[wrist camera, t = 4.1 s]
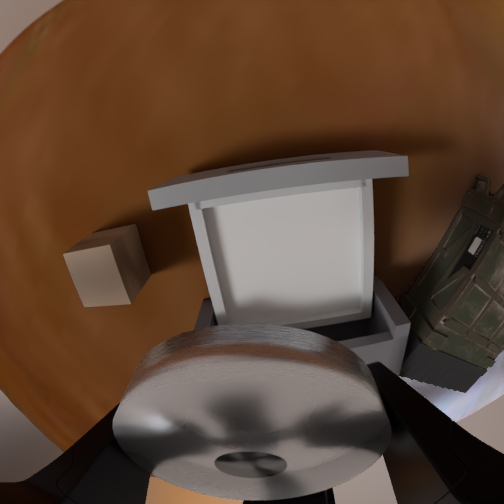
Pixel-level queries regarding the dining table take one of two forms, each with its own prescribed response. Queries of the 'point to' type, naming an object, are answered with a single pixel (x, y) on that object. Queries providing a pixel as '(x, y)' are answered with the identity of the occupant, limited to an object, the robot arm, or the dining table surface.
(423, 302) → the radio
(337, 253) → the tray
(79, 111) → the dining table surface
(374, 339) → the grey drawer cabinet
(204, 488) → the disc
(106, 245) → the walnut block
